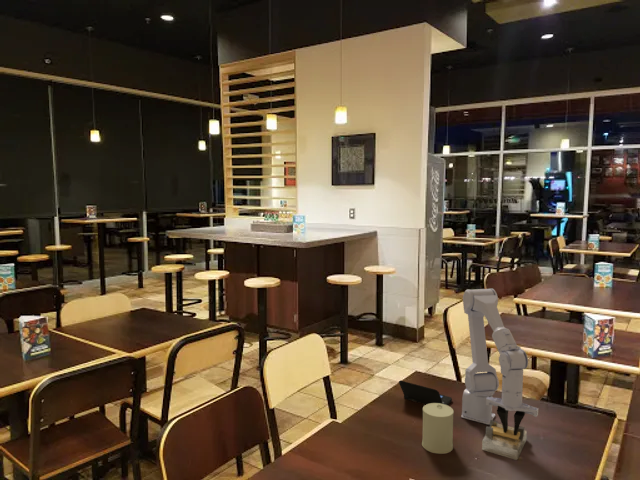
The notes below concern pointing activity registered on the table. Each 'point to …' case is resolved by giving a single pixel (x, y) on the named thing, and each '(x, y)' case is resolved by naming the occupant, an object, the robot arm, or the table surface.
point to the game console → (422, 394)
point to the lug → (521, 431)
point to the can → (437, 428)
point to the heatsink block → (503, 442)
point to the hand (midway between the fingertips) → (510, 432)
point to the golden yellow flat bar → (508, 434)
